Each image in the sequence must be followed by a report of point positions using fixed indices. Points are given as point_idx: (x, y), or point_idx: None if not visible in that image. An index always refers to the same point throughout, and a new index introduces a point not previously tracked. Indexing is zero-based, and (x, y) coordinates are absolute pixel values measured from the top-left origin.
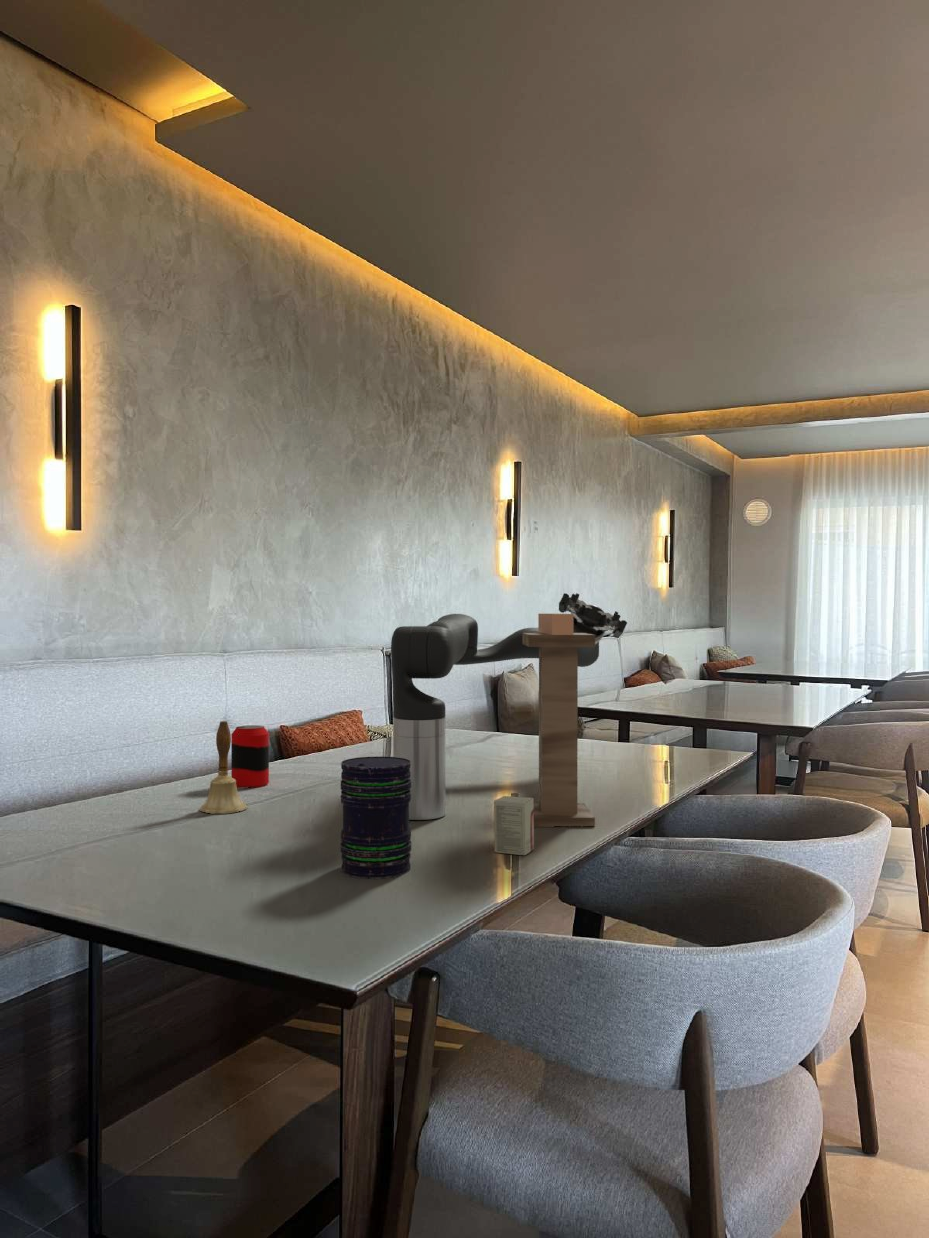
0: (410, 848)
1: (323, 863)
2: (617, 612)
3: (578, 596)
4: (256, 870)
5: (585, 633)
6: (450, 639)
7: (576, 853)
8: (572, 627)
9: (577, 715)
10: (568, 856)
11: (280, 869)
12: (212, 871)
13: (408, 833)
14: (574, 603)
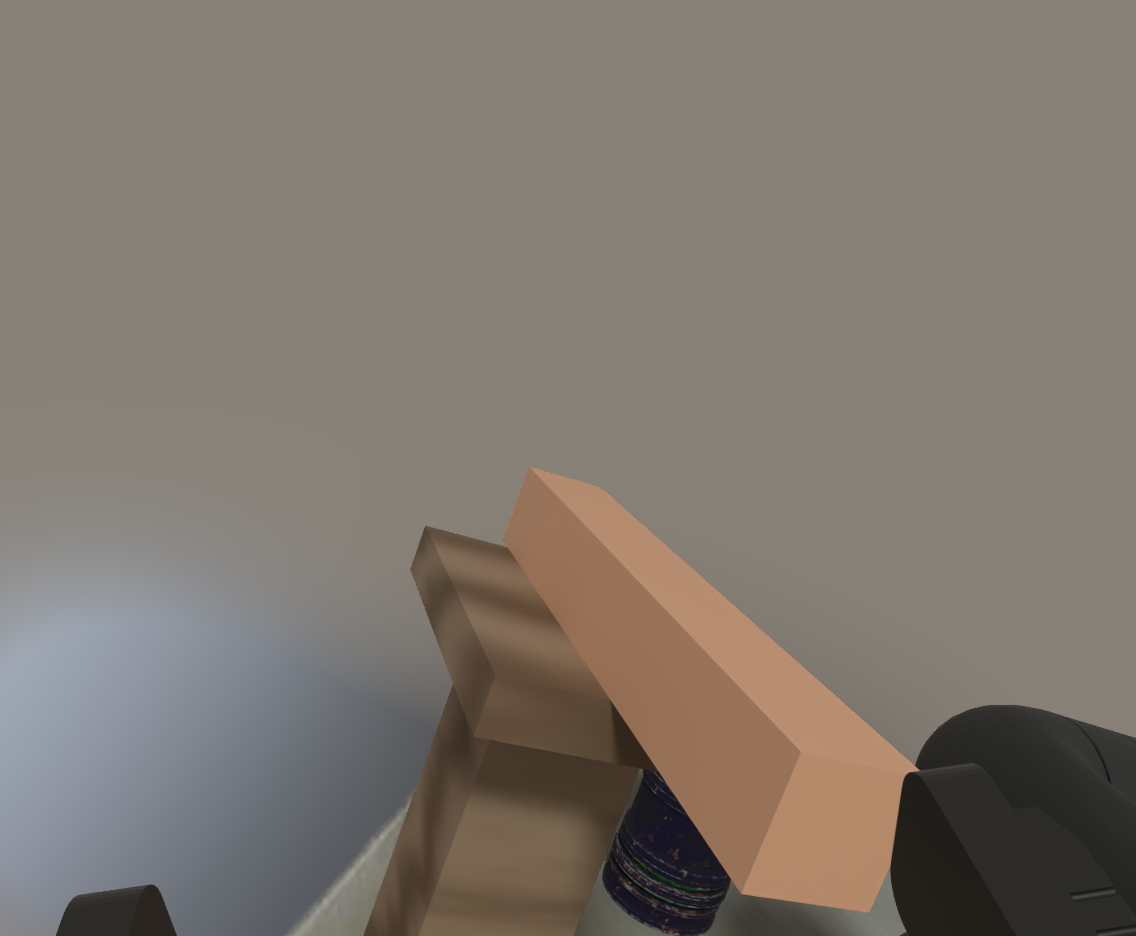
0: (614, 849)
1: (751, 930)
2: (102, 895)
3: (900, 797)
4: (817, 914)
5: (472, 616)
6: (967, 736)
7: (310, 920)
8: (515, 515)
9: (389, 864)
10: (330, 905)
11: (790, 913)
12: (869, 919)
13: (624, 820)
14: (912, 921)
